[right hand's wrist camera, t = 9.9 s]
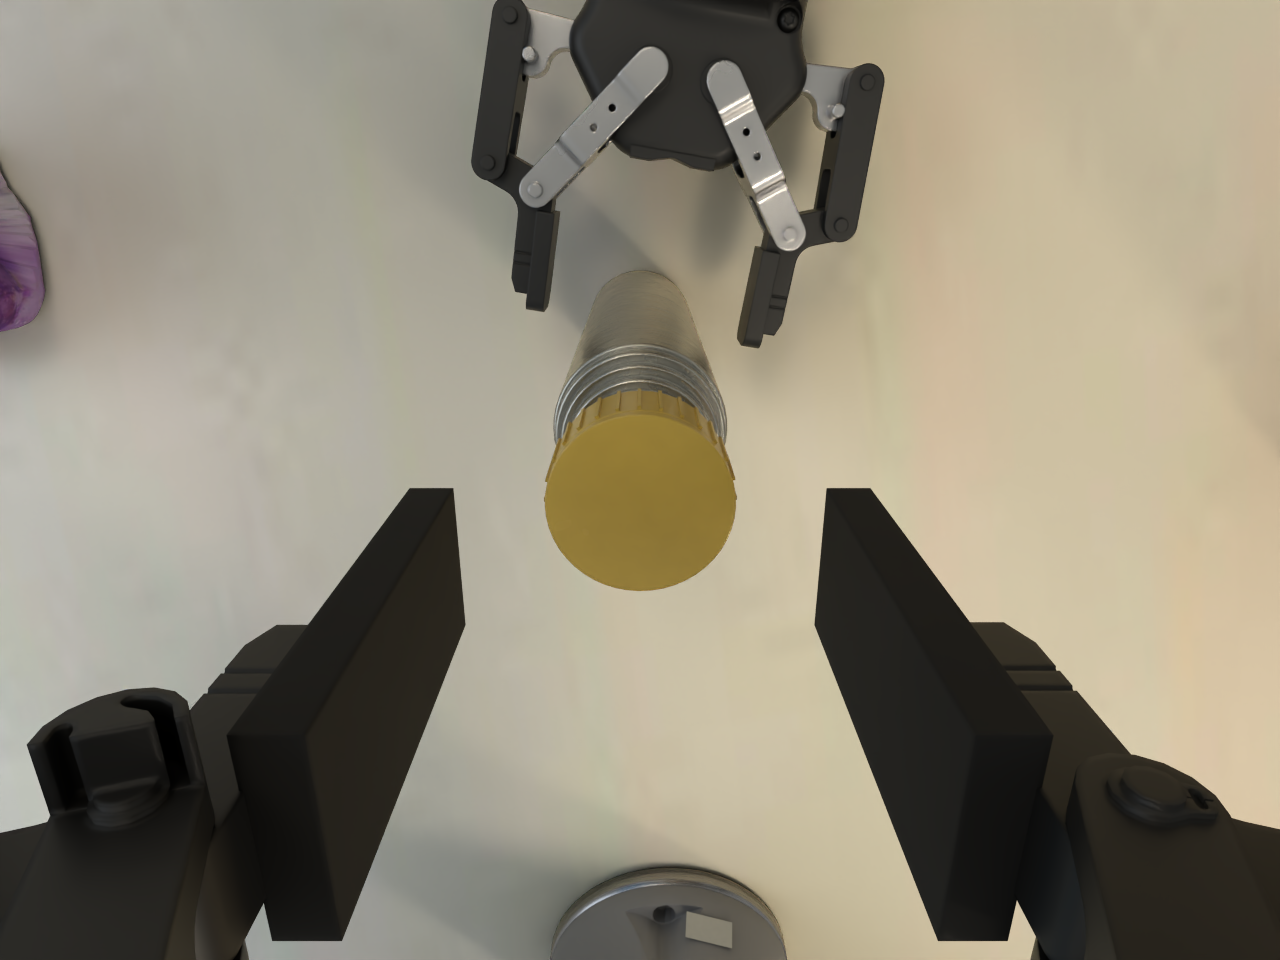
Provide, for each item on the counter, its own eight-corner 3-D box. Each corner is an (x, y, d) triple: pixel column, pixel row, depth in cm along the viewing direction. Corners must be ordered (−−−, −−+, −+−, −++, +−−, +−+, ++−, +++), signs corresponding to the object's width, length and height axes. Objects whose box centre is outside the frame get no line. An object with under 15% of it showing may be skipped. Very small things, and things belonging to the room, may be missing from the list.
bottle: (584, 277, 37) (511, 406, 16) (684, 264, 37) (742, 378, 16) (598, 375, 39) (548, 608, 18) (694, 363, 38) (759, 585, 18)
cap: (538, 398, 18) (526, 424, 16) (720, 377, 17) (730, 400, 16) (566, 561, 19) (559, 602, 17) (735, 543, 19) (745, 582, 17)
